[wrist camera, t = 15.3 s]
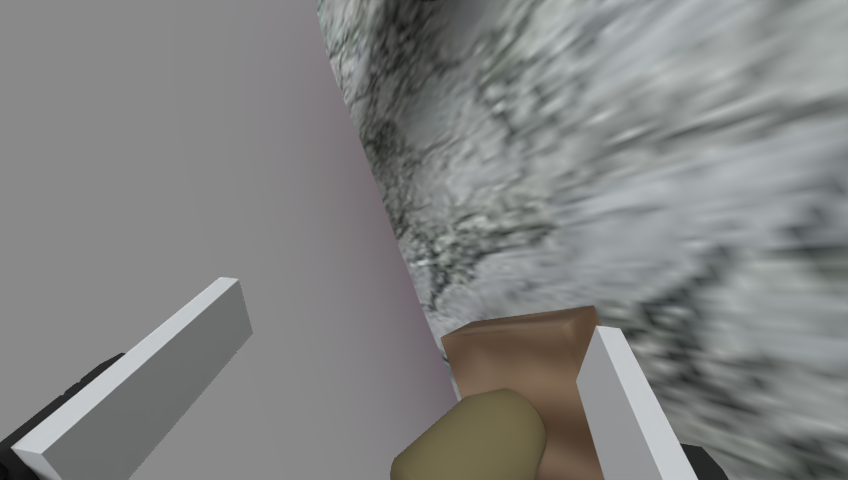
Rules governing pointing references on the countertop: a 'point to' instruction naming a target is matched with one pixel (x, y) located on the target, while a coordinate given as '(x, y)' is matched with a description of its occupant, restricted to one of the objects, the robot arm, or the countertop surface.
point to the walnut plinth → (535, 378)
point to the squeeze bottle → (478, 442)
